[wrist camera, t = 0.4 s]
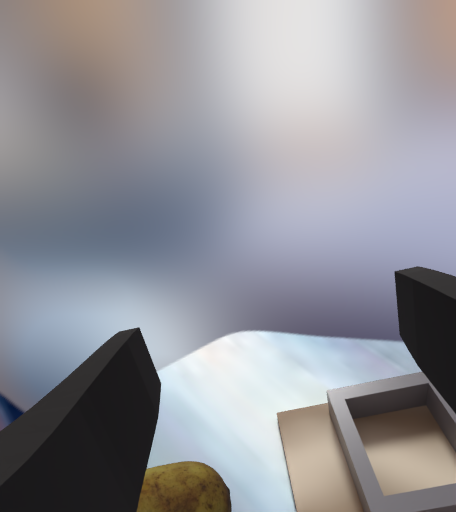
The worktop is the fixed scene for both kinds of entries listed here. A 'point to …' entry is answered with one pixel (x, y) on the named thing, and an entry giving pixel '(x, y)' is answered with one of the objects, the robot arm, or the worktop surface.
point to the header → (383, 401)
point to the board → (378, 451)
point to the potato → (184, 489)
